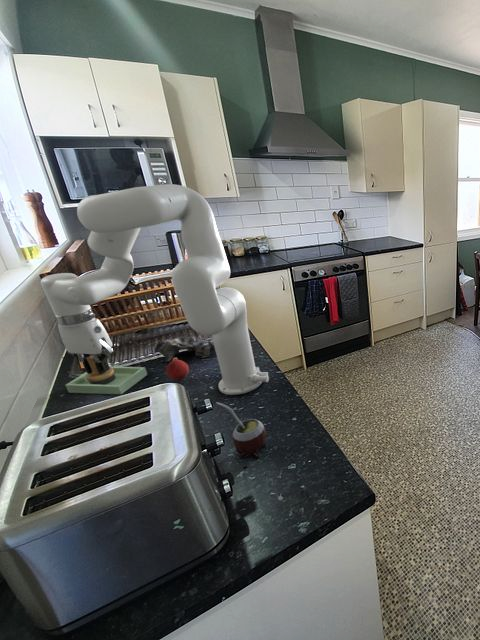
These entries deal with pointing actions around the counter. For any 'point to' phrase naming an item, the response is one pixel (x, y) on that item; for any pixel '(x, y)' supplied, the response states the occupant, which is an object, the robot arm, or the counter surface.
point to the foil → (183, 347)
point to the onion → (177, 369)
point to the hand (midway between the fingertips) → (98, 371)
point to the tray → (119, 385)
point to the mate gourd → (247, 435)
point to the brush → (99, 378)
